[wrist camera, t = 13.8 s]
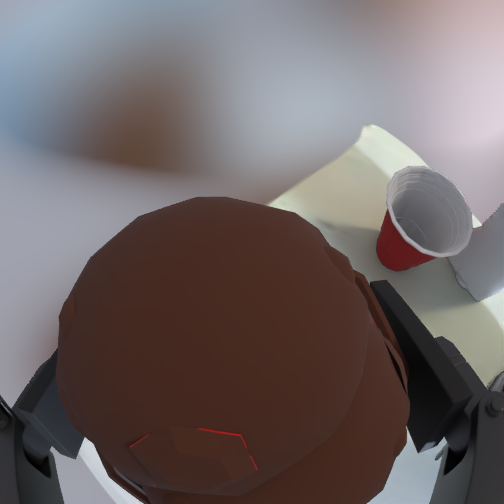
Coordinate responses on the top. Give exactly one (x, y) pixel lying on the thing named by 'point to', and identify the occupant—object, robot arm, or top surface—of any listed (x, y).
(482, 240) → the tall pale column
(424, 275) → the top surface
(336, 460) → the ice cream bowl
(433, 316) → the top surface
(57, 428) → the robot arm
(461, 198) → the plastic cup
